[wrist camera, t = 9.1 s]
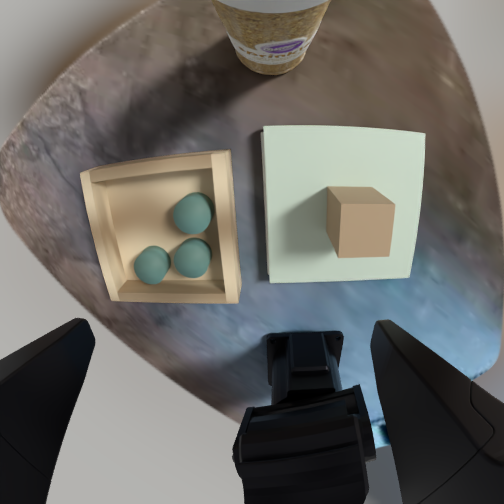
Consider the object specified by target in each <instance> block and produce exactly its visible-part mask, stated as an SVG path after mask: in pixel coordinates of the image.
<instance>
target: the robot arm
mask: <svg viewBox="0 0 504 504" xmlns="http://www.w3.org/2000/svg"><path fill="white" fill-rule="evenodd" d="M338 336H340V337H338ZM336 337H338V338H336ZM271 339H275V340H271ZM343 339H344V336H343V333H342V332H340V331H331V332H312V333H285V334H270V335H268V336H267V359H268V383H269V385H271V386H272V401H271V405H269V406H262V407H256V408H255V407H248V408H247V409H246V412H245V415H244V417H243V420H242V423H241V425H240V429H239V431H238V434H237V437H236V440H235V442H234V445H233V449H232V450H233V456H232V459H233V462H235V467H236V470H237V473H238V475H239V477H240V478H241V479H242V483H243V489H244V503H245V504H363V503H364V501H365V499H366V496H367V494H368V491H369V484H368V477H367V471H366V464H365V463H366V462H370V461H374V460H376V451H375V444H374V438H373V432H372V428H371V423H370V419H369V415H368V411H367V408H366V404H365V401H364V397H363V394H362V390H361V387H360V384H359V385H355V386H353V387H352V388H348V389H345V390H342V385H341V380H340V375H339V371H338V367H339V362H340V357H341V351H342V345H343ZM94 347H95V337H94V335H93V332H92V330H91V328H90V325H89V323H88V321H87V320H86V319H82V318H75V319H73V320H71V321H69V322H67V323H65V324H64V325H62V326H60V327H58V328H56V329H55V330H53V331H51V332H49V333H47V334H45V335H44V336H42V337H40V338H38V339H37V340H35V341H33V342H31V343H30V344H28V345H26V346H24V347H22V348H20V349H19V350H17V351H15V352H13V353H12V354H10V355H8V356H7V357H5V358H3V359H1V360H0V504H46V501H47V496H48V492H49V488H50V484H51V479H52V476H53V472H54V469H55V465H56V462H57V458H58V455H59V452H60V448H61V445H62V442H63V439H64V436H65V433H66V430H67V427H68V424H69V421H70V418H71V415H72V412H73V410H74V407H75V404H76V401H77V398H78V396H79V393H80V391H81V388H82V385H83V383H84V380H85V377H86V373H87V370H88V366H89V363H90V360H91V356H92V353H93V350H94ZM370 348H371V354H372V360H373V366H374V372H375V378H376V385H377V391H378V395H379V400H380V403H381V407H382V411H383V415H384V419H385V422H386V426H387V430H388V435H389V439H390V443H391V447H392V451H393V456H394V460H395V465H396V470H397V475H398V480H399V485H400V491H401V496H402V502H403V504H504V403H503V402H501V401H500V400H498V399H497V398H495V397H494V396H492V395H491V394H490V393H488V392H487V391H485V390H484V389H483V388H481V387H480V386H479V385H477V384H476V383H475V382H473V381H471V379H469V378H468V377H467V376H465V375H464V374H463V373H461V372H460V371H459V370H458V369H456V368H455V367H454V366H452V365H451V364H450V363H448V362H447V361H446V360H444V359H443V358H442V357H440V356H439V355H437V354H436V353H435V352H433V351H432V350H431V349H429V348H428V347H427V346H425V345H424V344H423V343H421V342H420V341H419V340H417V339H416V338H414V337H413V336H412V335H410V334H409V333H408V332H406V331H405V330H403V329H402V328H401V327H399V326H398V325H397V324H395V323H394V322H392V321H391V320H388V319H387V320H378V321H376V323H375V325H374V330H373V334H372V339H371V344H370Z"/></svg>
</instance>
